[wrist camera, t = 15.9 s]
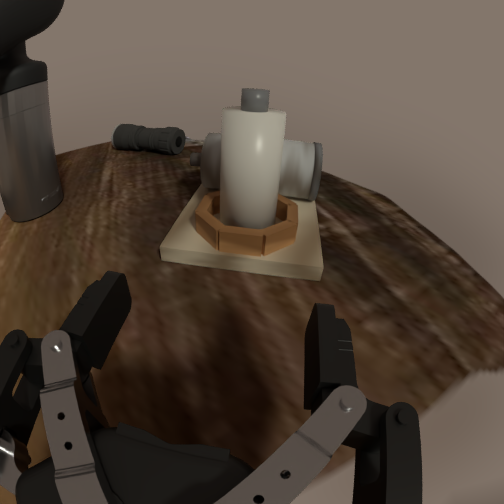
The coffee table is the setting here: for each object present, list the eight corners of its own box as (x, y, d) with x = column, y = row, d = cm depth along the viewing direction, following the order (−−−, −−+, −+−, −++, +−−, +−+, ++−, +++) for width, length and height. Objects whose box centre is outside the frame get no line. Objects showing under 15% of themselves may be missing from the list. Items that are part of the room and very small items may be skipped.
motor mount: (151, 258, 25) (139, 172, 21) (200, 184, 39) (200, 125, 34) (319, 281, 25) (341, 192, 20) (310, 196, 38) (320, 137, 33)
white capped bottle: (214, 237, 26) (216, 89, 19) (225, 210, 30) (229, 86, 23) (272, 244, 26) (288, 94, 18) (275, 216, 30) (288, 90, 23)
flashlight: (188, 151, 52) (188, 124, 49) (172, 159, 48) (171, 130, 45) (129, 144, 56) (128, 121, 53) (112, 152, 52) (110, 127, 49)
